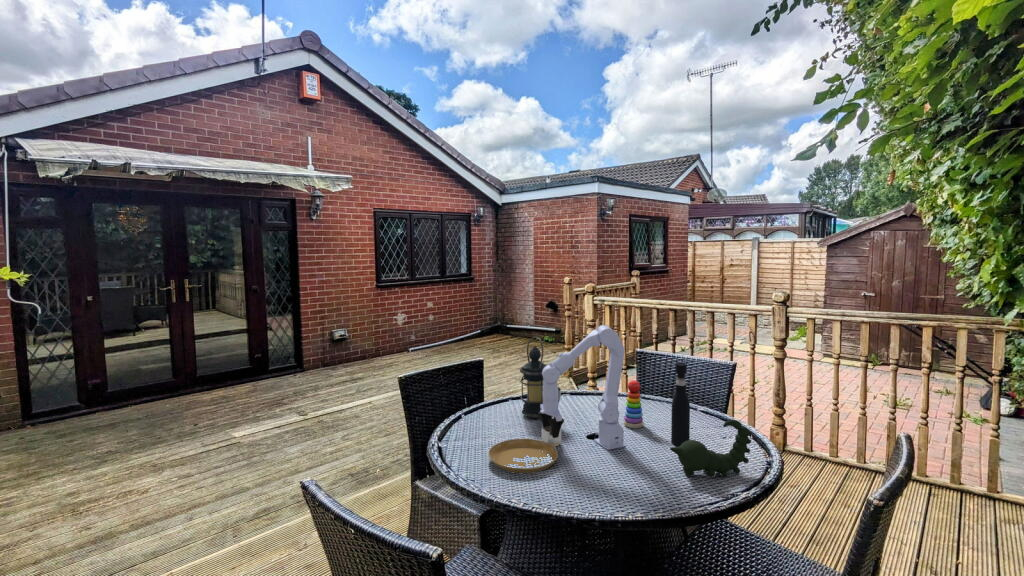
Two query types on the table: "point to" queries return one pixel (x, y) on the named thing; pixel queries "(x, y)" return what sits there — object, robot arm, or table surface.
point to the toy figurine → (714, 454)
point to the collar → (550, 436)
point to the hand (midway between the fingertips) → (551, 433)
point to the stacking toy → (633, 407)
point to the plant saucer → (521, 454)
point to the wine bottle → (680, 409)
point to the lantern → (533, 381)
